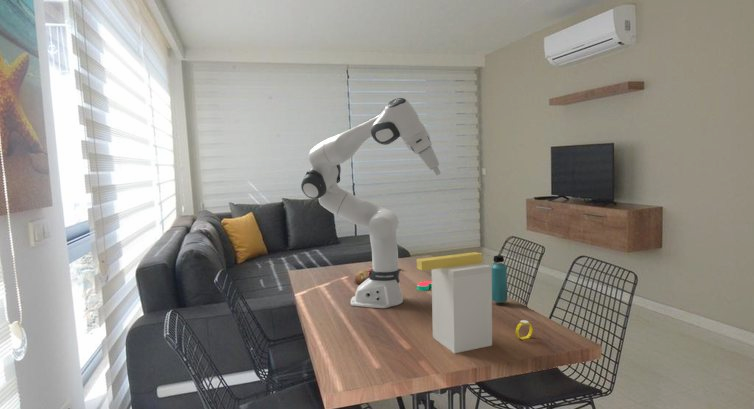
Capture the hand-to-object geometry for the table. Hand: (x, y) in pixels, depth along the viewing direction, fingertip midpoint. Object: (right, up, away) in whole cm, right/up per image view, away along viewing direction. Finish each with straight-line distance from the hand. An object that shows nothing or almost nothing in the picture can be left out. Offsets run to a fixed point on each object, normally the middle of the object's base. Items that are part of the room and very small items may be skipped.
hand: (435, 169), depth 166 cm
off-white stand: (+6, -58, -18) cm, 61 cm away
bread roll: (-28, -52, +58) cm, 83 cm away
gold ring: (+27, -58, -17) cm, 66 cm away
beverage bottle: (+29, -54, +19) cm, 64 cm away
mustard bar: (+2, -33, -22) cm, 39 cm away
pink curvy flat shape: (+6, -53, +48) cm, 71 cm away
